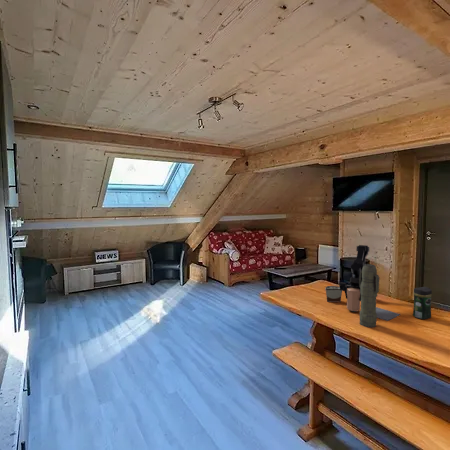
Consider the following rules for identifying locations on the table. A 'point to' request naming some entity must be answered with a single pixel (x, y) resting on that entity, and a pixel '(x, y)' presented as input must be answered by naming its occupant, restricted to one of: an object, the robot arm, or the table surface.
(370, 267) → the thermos
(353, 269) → the robot arm
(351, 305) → the brown piece
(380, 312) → the slate mat
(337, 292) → the food container
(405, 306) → the table surface
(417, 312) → the coffee jar
